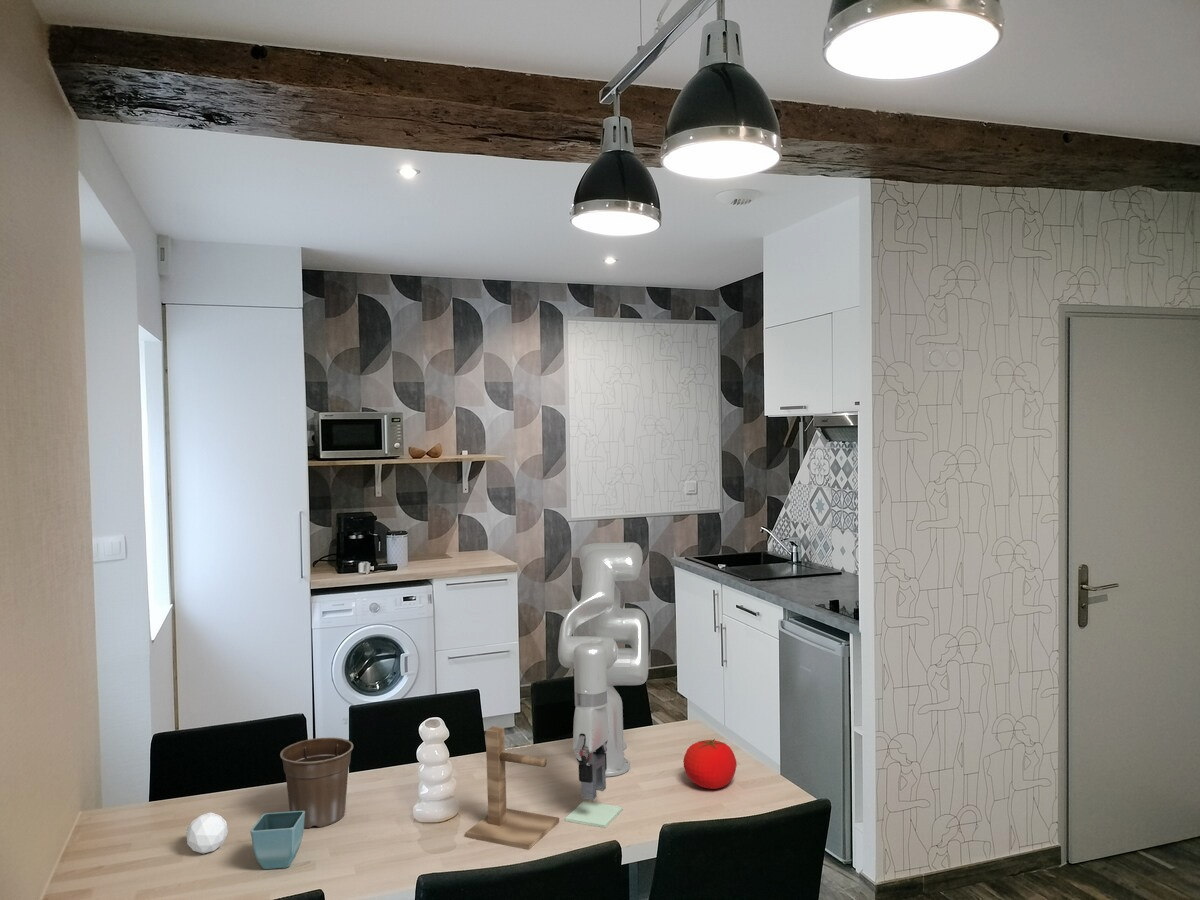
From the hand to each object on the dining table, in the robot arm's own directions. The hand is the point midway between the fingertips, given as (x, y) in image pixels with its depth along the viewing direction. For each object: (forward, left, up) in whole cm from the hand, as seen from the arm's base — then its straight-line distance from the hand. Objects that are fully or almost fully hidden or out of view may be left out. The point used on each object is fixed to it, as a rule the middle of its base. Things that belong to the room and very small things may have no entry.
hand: (593, 775), depth 192 cm
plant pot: (+24, -60, -10) cm, 65 cm away
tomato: (-26, +20, -10) cm, 34 cm away
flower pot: (+44, -52, -10) cm, 69 cm away
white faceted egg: (+45, -73, -10) cm, 86 cm away
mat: (0, 0, -9) cm, 9 cm away
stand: (+13, -14, -9) cm, 21 cm away
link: (0, 0, -4) cm, 4 cm away
